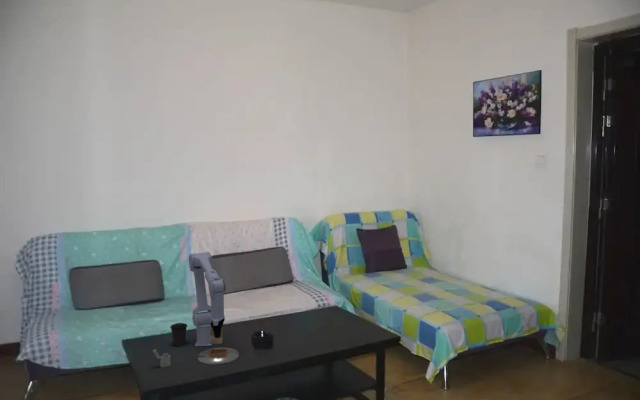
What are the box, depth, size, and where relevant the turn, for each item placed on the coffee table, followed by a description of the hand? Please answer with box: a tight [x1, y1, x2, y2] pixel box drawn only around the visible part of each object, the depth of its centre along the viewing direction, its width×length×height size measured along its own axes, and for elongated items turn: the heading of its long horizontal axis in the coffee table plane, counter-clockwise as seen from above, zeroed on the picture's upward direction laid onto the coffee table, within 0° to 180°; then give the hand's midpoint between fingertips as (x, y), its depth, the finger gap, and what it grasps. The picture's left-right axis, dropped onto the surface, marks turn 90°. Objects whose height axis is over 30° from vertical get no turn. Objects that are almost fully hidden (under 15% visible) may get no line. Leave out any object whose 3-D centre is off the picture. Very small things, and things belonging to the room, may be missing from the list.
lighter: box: [152, 348, 172, 368], centre depth 220 cm, size 7×2×8 cm, turn 117°
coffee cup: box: [169, 322, 188, 347], centre depth 246 cm, size 8×8×10 cm
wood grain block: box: [210, 327, 224, 345], centre depth 230 cm, size 3×5×7 cm, turn 94°
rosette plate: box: [197, 347, 240, 366], centre depth 230 cm, size 18×18×2 cm
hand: (218, 336), depth 230 cm, fingers closed on wood grain block, 3 cm apart
